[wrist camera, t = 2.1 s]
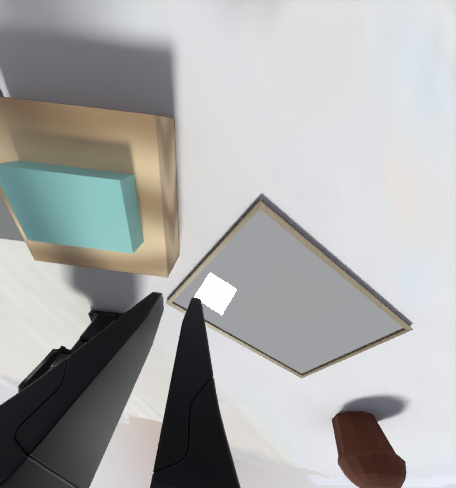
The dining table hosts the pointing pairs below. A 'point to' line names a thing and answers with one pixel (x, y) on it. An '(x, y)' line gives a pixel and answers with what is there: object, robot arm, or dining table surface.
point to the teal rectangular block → (74, 205)
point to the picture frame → (285, 297)
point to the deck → (106, 159)
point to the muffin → (366, 452)
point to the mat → (8, 221)
